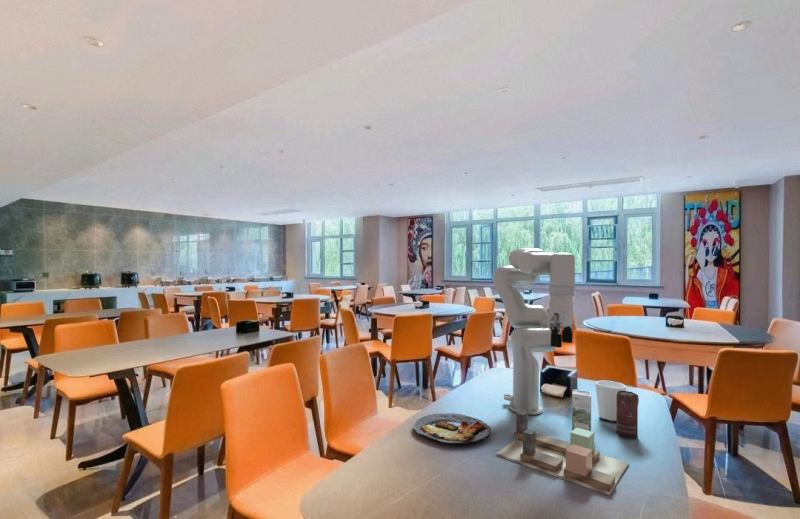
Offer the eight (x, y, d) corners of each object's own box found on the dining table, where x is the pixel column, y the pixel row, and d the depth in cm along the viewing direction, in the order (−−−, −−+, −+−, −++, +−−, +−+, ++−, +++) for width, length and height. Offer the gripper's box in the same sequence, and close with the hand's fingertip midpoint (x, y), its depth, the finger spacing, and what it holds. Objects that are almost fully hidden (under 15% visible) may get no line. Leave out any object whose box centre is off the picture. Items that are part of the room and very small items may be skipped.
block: (565, 469, 105) (565, 450, 105) (572, 462, 108) (572, 444, 108) (585, 476, 101) (586, 456, 101) (591, 469, 105) (592, 449, 105)
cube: (570, 449, 116) (570, 432, 116) (576, 444, 120) (576, 427, 120) (588, 455, 113) (588, 437, 113) (594, 449, 116) (594, 432, 117)
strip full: (513, 437, 128) (513, 413, 128) (520, 432, 131) (520, 409, 131) (594, 462, 112) (594, 435, 112) (599, 456, 115) (599, 430, 116)
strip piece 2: (563, 475, 105) (563, 469, 105) (570, 468, 109) (570, 462, 109) (609, 492, 98) (609, 484, 98) (615, 483, 101) (615, 476, 101)
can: (641, 440, 128) (641, 396, 129) (619, 438, 130) (620, 395, 130) (634, 432, 134) (634, 390, 135) (613, 431, 136) (614, 389, 136)
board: (496, 455, 117) (496, 453, 117) (526, 434, 132) (526, 432, 132) (609, 495, 97) (609, 492, 97) (628, 465, 112) (628, 463, 112)
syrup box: (591, 434, 133) (591, 390, 133) (591, 441, 127) (591, 395, 127) (572, 431, 135) (572, 388, 135) (571, 438, 130) (571, 393, 130)
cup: (596, 421, 144) (596, 386, 144) (594, 412, 153) (594, 379, 153) (628, 426, 140) (628, 389, 140) (624, 416, 149) (624, 382, 149)
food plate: (503, 432, 133) (503, 421, 134) (464, 457, 116) (463, 444, 117) (443, 414, 150) (442, 405, 151) (400, 434, 133) (400, 423, 134)
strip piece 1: (520, 459, 113) (520, 432, 113) (527, 453, 117) (527, 427, 117) (556, 472, 106) (556, 443, 106) (562, 465, 110) (562, 437, 110)
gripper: (560, 289, 138) (559, 339, 138) (539, 291, 125) (539, 346, 125) (583, 290, 133) (582, 342, 133) (564, 293, 120) (564, 350, 120)
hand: (561, 344), depth 129 cm, fingers open, 9 cm apart
